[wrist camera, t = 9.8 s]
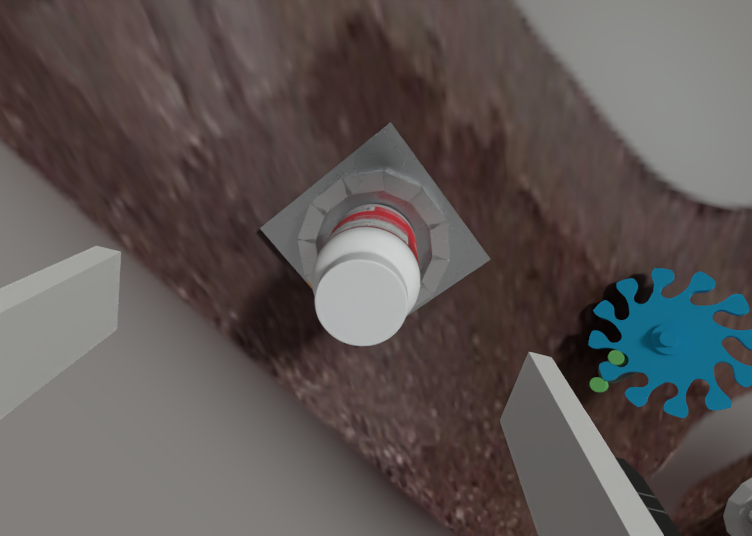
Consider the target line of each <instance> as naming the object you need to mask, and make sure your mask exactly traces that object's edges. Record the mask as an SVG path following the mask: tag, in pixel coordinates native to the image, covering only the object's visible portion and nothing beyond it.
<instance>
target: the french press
mask: <svg viewBox="0 0 752 536" xmlns="http://www.w3.org/2000/svg"><path fill="white" fill-rule="evenodd" d="M723 517H724V521H725V526H726V530H727V532H728V533H729V534H730V535H731V536H752V478H750V479H749V480H747V481H745V482H744V483H742V484H741V485H740V487H739V488H738V489H737V490H736V491H735V492H734V493H733V494H732V496H731V497H730V498H729V499H728V502H727V505H726V508H725V512H724V515H723Z"/></svg>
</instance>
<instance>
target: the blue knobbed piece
mask: <svg viewBox="0 0 752 536" xmlns="http://www.w3.org/2000/svg"><path fill="white" fill-rule="evenodd" d="M652 278H653V281H654V289H653V293H652V295H651V297H650V299H649V300H648V302H646V303H644V304H638V303H636V302H635V301H634V296H635V294H636V293H637V291H638V284H637V282H636V281H635V279H633V278H631V279H625V280H622V281H620V282H617V289H618V291H619V292H620V293H621V294H622V295H623V296H624V297H625V298H626V300H627V302H628V305H629V317H628V318H627V319H625V320H618V319H616V317H615V310H614V307H613V305H612V304H611V303H610V302H609V301H606V300H604V301H602V302H601V303H599V304H598V305H597V306H596V308H595V309H594V310H593V311H594V313H595V314H596V315H597V316H598V317H600V318H602V319H606V320H608V321H610V322H612V323H613V324H615V326H616V327H617V328H618V329H619V331H620V332H621V334H622V338H621V340H620V341H619V342H617V343H612V342H610V341H609V340H608V338H607V337H606V336H605V334H603V333H602V332H600V331H596V330H594V331H592V332H591V334H590V337H589V344H588V345H589V346H590V347H592V348H594V349H603V348H610V349H615V350H613V351H611V352H610V353H609V354H608V359H609V360H607V361H605V362H602V363H600V364H599V368H598V374H599V376H600V378H599V377H595V378H593V379H591V381H590V387H591V389H592V390H593V391H595V392H605V391H606V390H607V389H608V386H609V385H608V383H618V382H620V381H622V380H624V379H626V378H628V377H630V376H632V375H634V374H636V373H638V372H641V373H644V374H646V375H647V376H648V378H649V383H648V385H647V386H645V387H631V388H629V389H627V390H626V392H625V395H626V397H627V398H628V399H629V400H630V401H631V402H632V403H633V404H634V405H636V406H637V407H640V406H643V405H645V404H646V402H647V400H648V397H649V395H650V393H651V392H652V390H654V389H655V388H656V387H658V386H659V385H661V384H664V383H666V382H671V383H674V384H675V385H676V386H677V387H678V390H679V392H678V395H677V396H676V397H674V398H672V399H670V400H668V401H667V402H666V403H665V404H664V411H665V412H667V413H668V414H671V415H673V416H677V417H681V418H685V417H686V416H687V414H688V407H687V404H686V392H687V389H688V387H689V386H690V384H691V382H692V381H693V380H695V379H703V380H705V381H706V382H707V383H708V384H709V386H710V390H709V392H708V394H707V396H706V398H705V403H706V406H707V407H708V408H709V409H710V410H722V409H727V408H730V407H731V405H732V404H731V400H730V398H729V397H728V396H727V395H726V394H724V393H723V392H722V391H721V389H720V388H719V387H718V385H717V383H716V381H715V377H714V365H715V364H717V363H719V362H725V363H727V364H729V365H730V366H731V367H732V368H733V372H734V378H735V380H736V382H737V383H738V384H739V385H741V386H743V387H749V386H751V385H752V366H748V365H745V364H742V363H740V362H738V361H737V360H735V359H734V358H732V357H731V356H730V355H729V354H728V353H727V351H726V350H725V349H724V348H723V346H722V340H723V339H725V338H727V337H734V338H736V339H738V340H739V341H740V342H741V343H742V344H743V346H744V347H745V348H747V349H748V350H751V351H752V329H751V330H743V331H741V330H733V329H729V328H726V327H723V326H721V325H719V324H717V323H715V322H714V320H713V318H712V316H713V315H714V314H715V313H716V312H719V311H723V312H727V313H729V314H732V315H735V316H743V315H745V314H747V313H748V312H749V306H748V303H747V301H746V299H745V298H744V296H743V295H742V294H734V295H731V296H729V297H728V298H727V299H726V300H724V301H723V302H720V303H718V304H714V305H708V306H696V305H694V304H692V303H691V302H690V297H691V295H693V294H695V293H705V292H709V291H711V290H712V289H714V287H715V284H716V282H715V281H714V280H713V279H712V278H711V277H710V276H708V275H707V274H705V273H703V272H701V271H700V272H697V273H696V274H694V275H693V277H692V280H691V283H690V285H689V286H688V288H687V289H686V290H685V291H684V292H682V293H681V294H679V295H678V296H676V297H674V298H670V299H668V298H665V297H663V296H662V295H661V291H662V289H663V288H664V287H666V286H668V285H670V284H671V283H672V282H673V281H674V272H673V271H671V270H668V269H663V268H655V269H654V270H653V271H652Z"/></svg>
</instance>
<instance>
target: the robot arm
mask: <svg viewBox="0 0 752 536" xmlns="http://www.w3.org/2000/svg"><path fill="white" fill-rule="evenodd" d="M120 261H121V252H120V251H115V250H111V249H107V248H103V247H98V246H95V247H92V248H90V249H88V250H86V251H84V252H81V253H79V254H77V255H74V256H72V257H70V258H68V259H66V260H64V261H61V262H59V263H57V264H54V265H52V266H50V267H48V268H45V269H43V270H41V271H39V272H36V273H34V274H32V275H29V276H27V277H25V278H23V279H21V280H18V281H17V282H14V283H11V284H9V285H7V286H5V287H3V288H0V420H1V419H2V418H3V417H5V416H6V415H7V414H9V413H10V412H11V411H12V410H14V409H15V408H16V407H18V406H19V405H20V404H21V403H23V402H24V401H25V400H26V399H28V398H29V397H30V396H32V395H33V394H34V393H36V392H37V391H38V390H39V389H40V388H42V387H43V386H45V385H46V384H47V383H48V382H50V381H51V380H52V379H54V378H55V377H56V376H58V375H59V374H60V373H61V372H62V371H64V370H65V369H67V368H68V367H69V366H70V365H72V364H73V363H74V362H76V361H77V360H78V359H79V358H81V357H82V356H83V355H85V354H86V353H87V352H88V351H90V350H91V349H92V348H94V347H95V346H96V345H97V344H99V343H100V342H101V341H103V340H104V339H105V338H106V337H108V336H109V335H110V334H112V333H113V332H114V331H115V330H117V317H118V297H119V279H120ZM500 422H501V425H502V428H503V431H504V434H505V437H506V440H507V443H508V446H509V449H510V452H511V455H512V458H513V461H514V464H515V467H516V470H517V473H518V476H519V479H520V482H521V485H522V488H523V491H524V494H525V497H526V500H527V503H528V506H529V509H530V512H531V515H532V518H533V521H534V524H535V527H536V530H537V533H538V536H682V535H681V534H680V532H679V531H678V529H677V528H676V526H675V525H674V523H673V522H672V520H671V519H670V517H669V516H668V514H665V510H664V508H663V507H662V505H661V504H660V502H659V501H658V499H655V498H654V494H653V492H652V491H651V489H650V488H649V486H648V485H647V483H646V482H645V480H644V479H643V477H642V476H641V475H640V474H639V473H638V472H637V471H636V470H635V469H634V468H633V467H632V466H630V465H629V464H628V463H627V462H626V461H625V460H624V459H621V458H617V457H614V455H613V454H612V452H611V451H610V449H609V448H608V446H607V444H606V443H605V441H604V440H603V438H602V436H601V435H600V433H599V432H598V430H597V429H596V427H595V425H594V424H593V422H592V421H591V419H590V417H589V416H588V414H587V413H586V411H585V410H584V408H583V406H582V405H581V403H580V402H579V400H578V398H577V397H576V395H575V394H574V392H573V391H572V389H571V387H570V386H569V384H568V383H567V381H566V379H565V378H564V376H563V375H562V373H561V372H560V370H559V368H558V367H557V365H556V364H555V362H554V360H553V359H552V357H548V356H544V355H540V354H536V353H532V352H528V355H527V357H526V359H525V362H524V364H523V367H522V369H521V371H520V374H519V376H518V379H517V381H516V383H515V386H514V388H513V390H512V393H511V395H510V398H509V400H508V402H507V405H506V407H505V410H504V412H503V414H502V417H501V419H500Z"/></svg>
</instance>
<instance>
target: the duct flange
mask: <svg viewBox="0 0 752 536" xmlns="http://www.w3.org/2000/svg"><path fill="white" fill-rule="evenodd" d="M368 204H378V205H383V206H387V207H390V208H392V209H394V210H396V211H397V212H399V213H400V214H401V215H402V216H403V217H404V218H405V219H406V220H407V221H408V222H409V224H410V226H411V227H412V229H413V232H414V235H415V239H416V245H417V254H418V261H419V268H420V290H419V294H418V298H417V300H416V303H415V305H414V306H413V308H412V310H411V311H410V312H409V314H410V313H412V312H413V311H415V310H416V309H418V308H419V307H421V306H422V305H424V304H425V303H427V302H428V301H430V300H431V299H433V298H434V297H436V296H437V295H439V294H440V293H442V292H443V291H445V290H446V289H447V288H449V287H450V286H452V285H453V284H455V283H456V282H458V281H459V280H461V279H462V278H464V277H465V276H467V275H468V274H470V273H471V272H473V271H474V270H476V269H477V268H479V267H480V266H482V265H483V264H485V263H486V262H487V261H489V260H490V258H489V256H488V255H487V254H486V252H485V251H484V250H483V248H482V247H481V245H480V244H479V243H478V241H477V240H476V239H475V237H474V236H473V234H472V233H471V232H470V230H469V229H468V228H467V226H466V225H465V223H464V222H463V221H462V219H461V218H460V217H459V215H458V214H457V213H456V211H455V210H454V208H453V207H452V206H451V204H450V203H449V202H448V200H447V199H446V197H445V196H444V195H443V193H442V192H441V191H440V189H439V188H438V186H437V185H436V184H435V182H434V181H433V180H432V178H431V177H430V176H429V174H428V173H427V171H426V170H425V169H424V167H423V166H422V165H421V163H420V162H419V160H418V159H417V158H416V156H415V155H414V154H413V152H412V151H411V149H410V148H409V147H408V145H407V144H406V143H405V141H404V140H403V138H402V137H401V136H400V134H399V133H398V132H397V130H396V129H395V128H394V126H393V125H392V123H391V122H390V123H389V124H388V125H387V126H385V127H384V128H383V129H382V130H380V131H379V132H378V133H377V134H376V135H374V136H373V137H372V138H371V139H369V140H368V141H367V142H366V143H364V144H363V145H362V146H361V147H360V148H358V149H357V150H356V151H355V152H353V153H352V154H351V155H350V156H348V157H347V158H346V159H345V160H344V161H342V162H341V163H340V164H339V165H337V166H336V167H335V168H334V169H332V170H331V171H330V172H329V173H328V174H326V175H325V176H324V177H323V178H321V179H320V180H319V181H318V182H316V183H315V184H314V185H313V186H312V187H310V188H309V189H308V190H307V191H305V192H304V193H303V194H302V195H300V196H299V197H298V198H297V199H296V200H294V201H293V202H292V203H291V204H289V205H288V206H287V207H286V208H284V209H283V210H282V211H281V212H280V213H278V214H277V215H276V216H275V217H273V218H272V219H271V220H270V221H268V222H267V223H266V224H265V225H264V226H262V227H261V228H260V229H261V230H262V231H263V233H264V234H265V235H266V236H267V237H268V238H269V240H270V241H271V242H272V243H273V244H274V245H275V247H276V248H277V249H278V250H279V251H280V252H281V253H282V255H283V256H284V257H285V258H286V259H287V260H288V262H289V263H290V264H291V265H292V266H293V267H294V269H295V270H296V271H297V272H298V273H299V274H300V275H301V277H302V278H303V279H304V280H305V281H306V282H307V284H308V285H309V286H310V287H311V288H312V271H313V266H314V263H315V261H316V258H317V256H318V254H319V252H320V250H321V249H322V247H323V246H324V244H325V242H326V241H327V239H328V238H329V236H330V234H331V233H332V231H333V229H334V227H335V226H336V224H337V223H338V221H339V220H340V219H341V218H342V217H343V216H344V215H345V214H346V213H348V212H349V211H351V210H352V209H354V208H356V207H359V206H362V205H368ZM312 289H313V288H312ZM409 314H408V315H409Z"/></svg>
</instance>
